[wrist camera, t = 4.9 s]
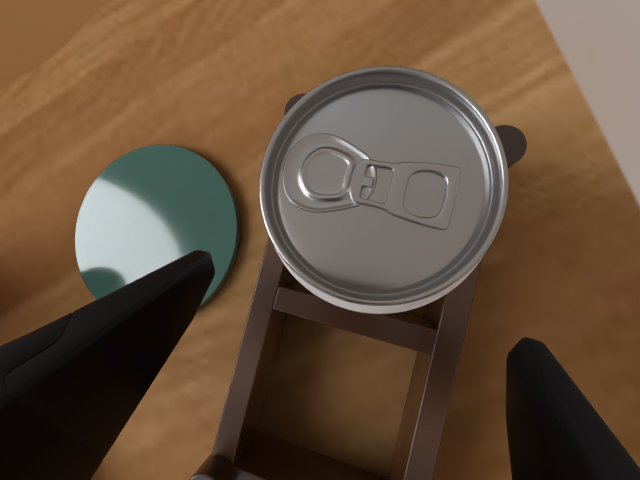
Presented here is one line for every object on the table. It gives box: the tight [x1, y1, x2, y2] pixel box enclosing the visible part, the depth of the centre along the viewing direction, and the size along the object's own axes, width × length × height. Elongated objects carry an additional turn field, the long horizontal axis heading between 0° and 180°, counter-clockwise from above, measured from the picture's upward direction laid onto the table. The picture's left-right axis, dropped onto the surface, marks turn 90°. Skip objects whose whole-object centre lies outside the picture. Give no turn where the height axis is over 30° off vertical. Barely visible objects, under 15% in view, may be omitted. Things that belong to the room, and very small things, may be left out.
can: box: [259, 66, 509, 314], centre depth 13 cm, size 6×6×12 cm
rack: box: [189, 94, 527, 480], centre depth 16 cm, size 20×11×5 cm, turn 166°
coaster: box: [75, 145, 240, 309], centre depth 21 cm, size 12×12×1 cm
